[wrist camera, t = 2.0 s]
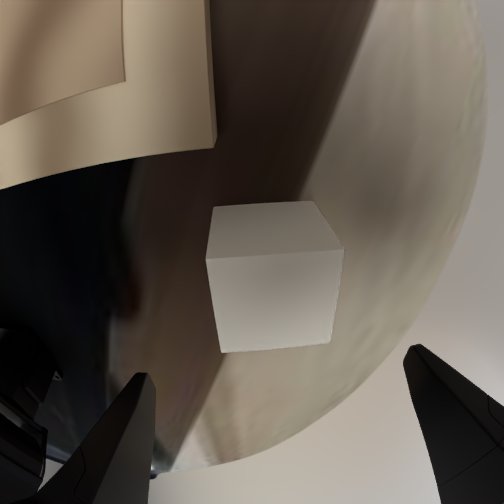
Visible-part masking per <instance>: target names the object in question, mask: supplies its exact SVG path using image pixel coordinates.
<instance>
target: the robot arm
mask: <svg viewBox="0 0 504 504" xmlns="http://www.w3.org/2000/svg"><path fill="white" fill-rule="evenodd" d="M403 366H404V371H405V374H406V378H407V382H408V387H409V391H410V395H411V399H412V402H413V406H414V409H415V412H416V414H417V417H418V420H419V424H420V427H421V430H422V433H423V436H424V439H425V442H426V446H427V450H428V453H429V456H430V460H431V463H432V467H433V471H434V475H435V478H436V483H437V486H438V492H439V496H440V500H441V504H504V406H502V405H501V404H500V403H498V402H497V401H495V400H494V399H493V398H492V397H490V396H489V395H487V394H486V393H485V392H484V391H482V390H481V389H480V388H479V387H477V386H476V385H475V384H473V383H472V382H471V381H469V380H468V379H467V378H466V377H464V376H463V375H462V374H460V373H459V372H458V371H456V370H455V369H454V368H452V367H451V366H450V365H448V364H447V363H446V362H444V361H443V360H442V359H440V358H439V357H438V356H436V355H435V354H434V353H432V352H431V351H430V350H428V349H427V348H426V347H424V346H423V345H421V344H416V345H412V346H410V348H409V349H408V351H407V354H406V356H405V358H404V360H403ZM62 378H63V375H62V373H61V372H60V371H59V369H58V368H57V367H56V365H55V364H54V362H53V361H52V359H51V358H50V356H49V355H48V353H47V352H46V350H45V349H44V347H43V346H42V344H41V343H40V341H39V340H38V338H37V336H36V335H35V333H34V332H33V331H32V330H31V329H30V328H24V327H14V326H4V325H0V504H148V492H149V480H150V471H151V462H152V453H153V444H154V436H155V408H156V388H155V385H154V383H153V381H152V379H151V377H150V375H149V374H148V373H141V372H138V373H136V374H135V375H134V376H133V377H132V378H131V380H130V381H129V382H128V383H127V385H126V386H125V387H124V389H123V390H122V391H121V392H120V394H119V395H118V396H117V397H116V399H115V400H114V401H113V403H112V404H111V405H110V406H109V408H108V409H107V410H106V412H105V413H104V414H103V415H102V417H101V418H100V419H99V421H98V422H97V423H96V424H95V426H94V427H93V428H92V430H91V431H90V432H89V434H88V435H87V436H86V437H85V439H84V440H83V441H82V443H81V444H80V446H79V447H78V448H77V449H76V450H75V452H74V453H73V454H72V456H71V457H70V458H69V459H68V460H67V462H66V463H65V464H64V465H63V466H62V467H61V468H60V469H59V471H58V472H57V473H56V474H55V475H54V476H53V477H52V478H51V479H50V480H49V481H48V482H47V483H46V484H45V485H44V486H43V487H42V488H41V489H40V490H39V491H38V488H39V487H40V485H41V483H42V481H43V477H44V474H45V464H46V446H47V433H48V430H47V429H46V428H44V427H43V426H40V425H38V424H37V423H36V422H34V421H33V420H34V418H35V416H36V413H37V410H38V407H39V405H42V404H43V401H44V399H45V396H46V394H47V391H48V389H49V386H50V384H51V381H52V379H54V380H62ZM37 491H38V492H37Z"/></svg>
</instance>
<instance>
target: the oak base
mask: <svg viewBox="0 0 504 504" xmlns="http://www.w3.org/2000/svg"><path fill="white" fill-rule="evenodd" d="M217 137H218V135H217V122H216V108H215V94H214V78H213V62H212V44H211V24H210V2H209V0H0V189H3V188H7V187H10V186H13V185H16V184H20V183H23V182H27V181H30V180H34V179H37V178H41V177H45V176H49V175H53V174H57V173H61V172H65V171H69V170H74V169H78V168H83V167H87V166H92V165H97V164H102V163H107V162H112V161H118V160H124V159H130V158H136V157H142V156H149V155H155V154H163V153H170V152H178V151H187V150H196V149H206V148H213V147H214V145H215V142H216V139H217Z"/></svg>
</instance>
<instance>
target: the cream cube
mask: <svg viewBox="0 0 504 504" xmlns="http://www.w3.org/2000/svg"><path fill="white" fill-rule="evenodd" d="M344 252H345V249H344V247H343V246H342V244H341V242H340V241H339V239H338V238H337V236H336V235H335V233H334V232H333V230H332V228H331V227H330V225H329V224H328V222H327V221H326V219H325V218H324V216H323V215H322V213H321V212H320V210H319V209H318V207H317V206H316V204H315V203H314V202H313V201H296V202H276V203H259V204H244V205H230V206H217V207H213V213H212V219H211V226H210V233H209V239H208V246H207V253H206V265H207V271H208V278H209V284H210V290H211V296H212V302H213V308H214V314H215V320H216V326H217V331H218V337H219V342H220V348H221V353H225V352H242V351H256V350H268V349H279V348H289V347H299V346H307V345H315V344H323V343H330V339H331V334H332V329H333V323H334V318H335V312H336V306H337V300H338V294H339V288H340V281H341V274H342V267H343V260H344Z"/></svg>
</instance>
